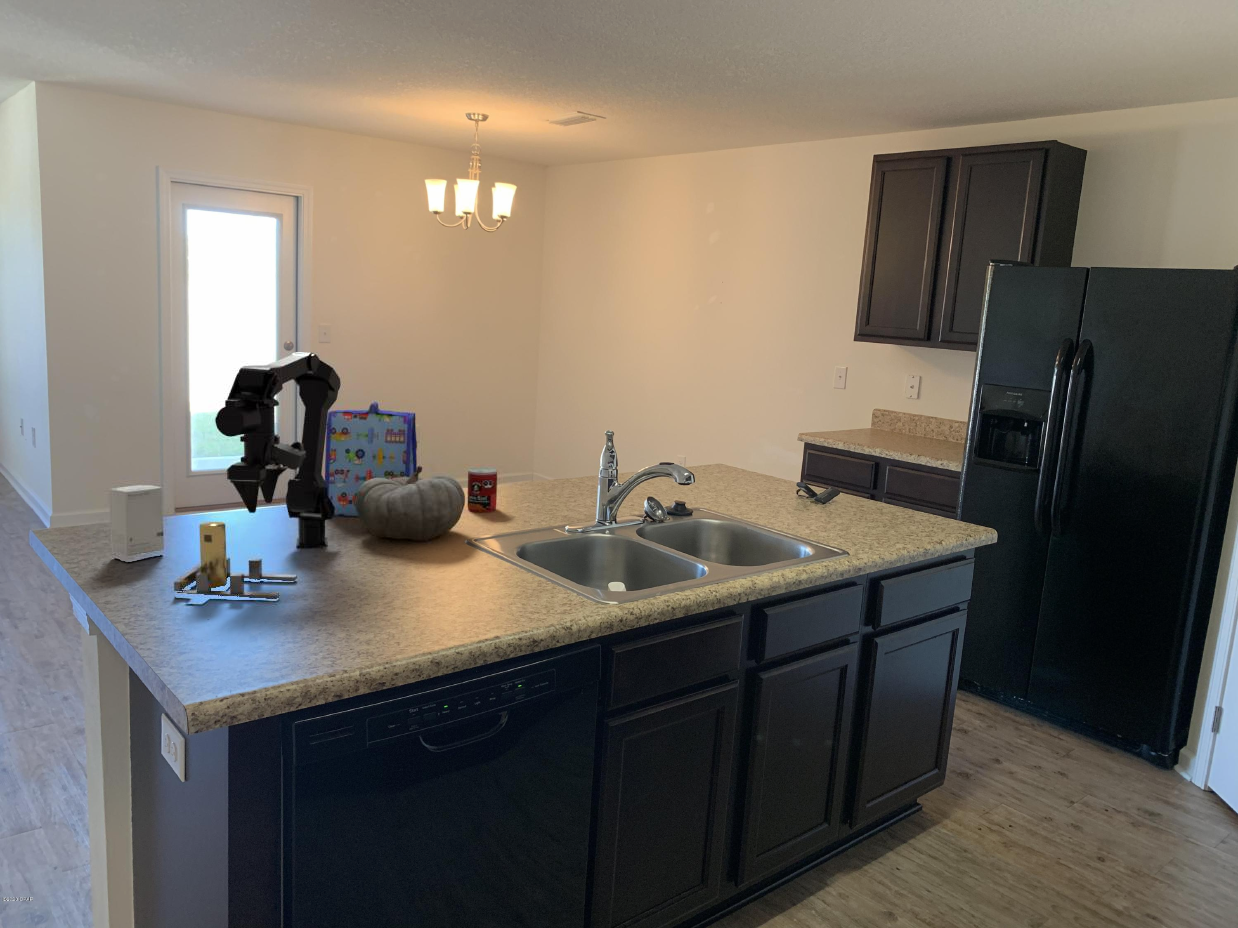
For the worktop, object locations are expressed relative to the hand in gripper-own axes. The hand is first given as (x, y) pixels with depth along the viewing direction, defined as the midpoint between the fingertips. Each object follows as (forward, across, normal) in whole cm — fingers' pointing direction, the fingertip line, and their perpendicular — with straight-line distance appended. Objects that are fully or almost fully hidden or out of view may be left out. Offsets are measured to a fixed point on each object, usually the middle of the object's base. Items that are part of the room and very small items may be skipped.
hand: (260, 507), depth 179 cm
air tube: (+13, -12, +5) cm, 18 cm away
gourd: (+13, +31, -24) cm, 42 cm away
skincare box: (+13, +6, +27) cm, 31 cm away
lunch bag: (+13, +54, -10) cm, 56 cm away
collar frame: (+13, -14, 0) cm, 19 cm away
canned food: (+13, +61, -38) cm, 73 cm away
